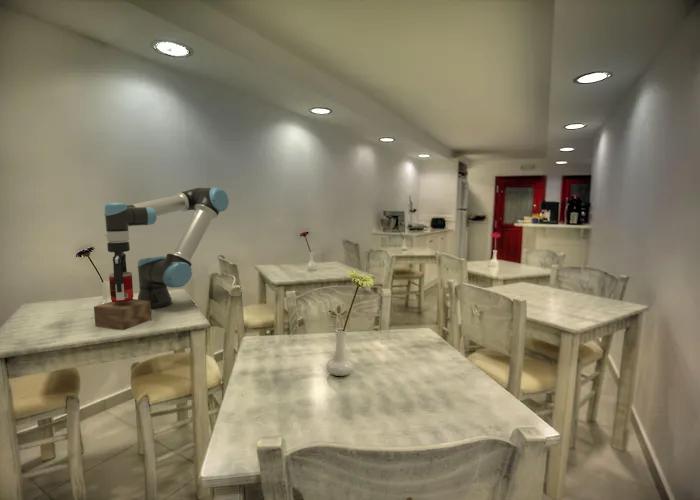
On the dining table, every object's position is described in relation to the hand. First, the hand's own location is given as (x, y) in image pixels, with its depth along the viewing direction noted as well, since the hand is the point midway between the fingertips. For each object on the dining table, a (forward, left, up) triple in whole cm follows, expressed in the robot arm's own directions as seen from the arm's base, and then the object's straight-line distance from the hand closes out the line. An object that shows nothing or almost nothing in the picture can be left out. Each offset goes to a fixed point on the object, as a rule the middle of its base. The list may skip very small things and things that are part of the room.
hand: (122, 297), depth 154 cm
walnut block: (0, 0, -11) cm, 11 cm away
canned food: (0, 0, -1) cm, 1 cm away
